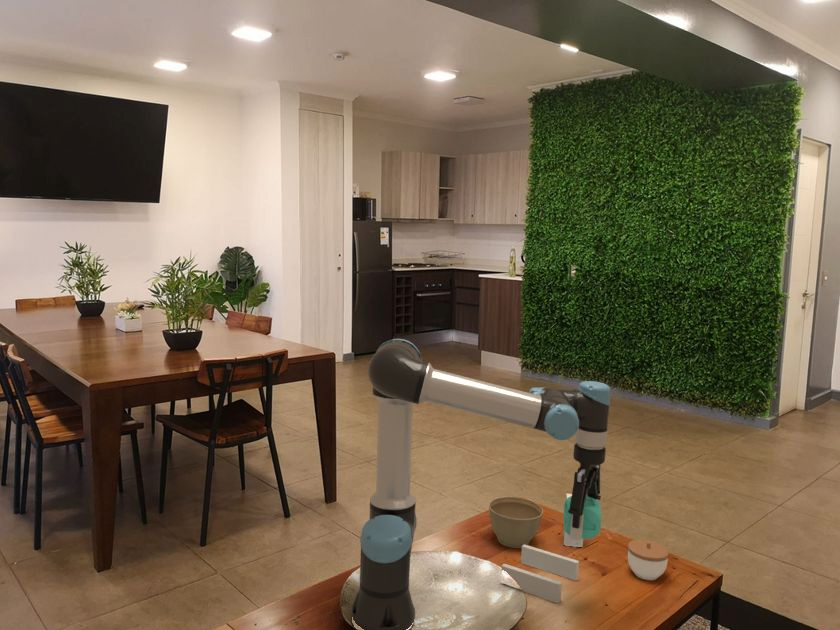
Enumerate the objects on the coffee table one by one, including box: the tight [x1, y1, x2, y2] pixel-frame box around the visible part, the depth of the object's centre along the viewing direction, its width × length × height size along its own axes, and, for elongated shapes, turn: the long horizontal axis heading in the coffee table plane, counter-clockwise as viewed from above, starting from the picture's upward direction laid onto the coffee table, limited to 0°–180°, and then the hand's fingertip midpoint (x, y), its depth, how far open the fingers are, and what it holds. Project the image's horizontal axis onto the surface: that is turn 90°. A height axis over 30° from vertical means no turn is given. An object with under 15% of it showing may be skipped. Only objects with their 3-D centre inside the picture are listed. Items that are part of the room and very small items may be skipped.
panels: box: [501, 544, 580, 604], centre depth 174 cm, size 16×15×5 cm
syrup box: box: [563, 493, 584, 548], centre depth 197 cm, size 6×6×14 cm
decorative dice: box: [563, 496, 602, 540], centre depth 162 cm, size 8×8×8 cm
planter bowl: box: [488, 496, 544, 549], centre depth 196 cm, size 16×16×11 cm
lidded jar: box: [627, 539, 670, 581], centre depth 180 cm, size 11×11×9 cm
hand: (582, 531), depth 162 cm, fingers closed on decorative dice, 10 cm apart
